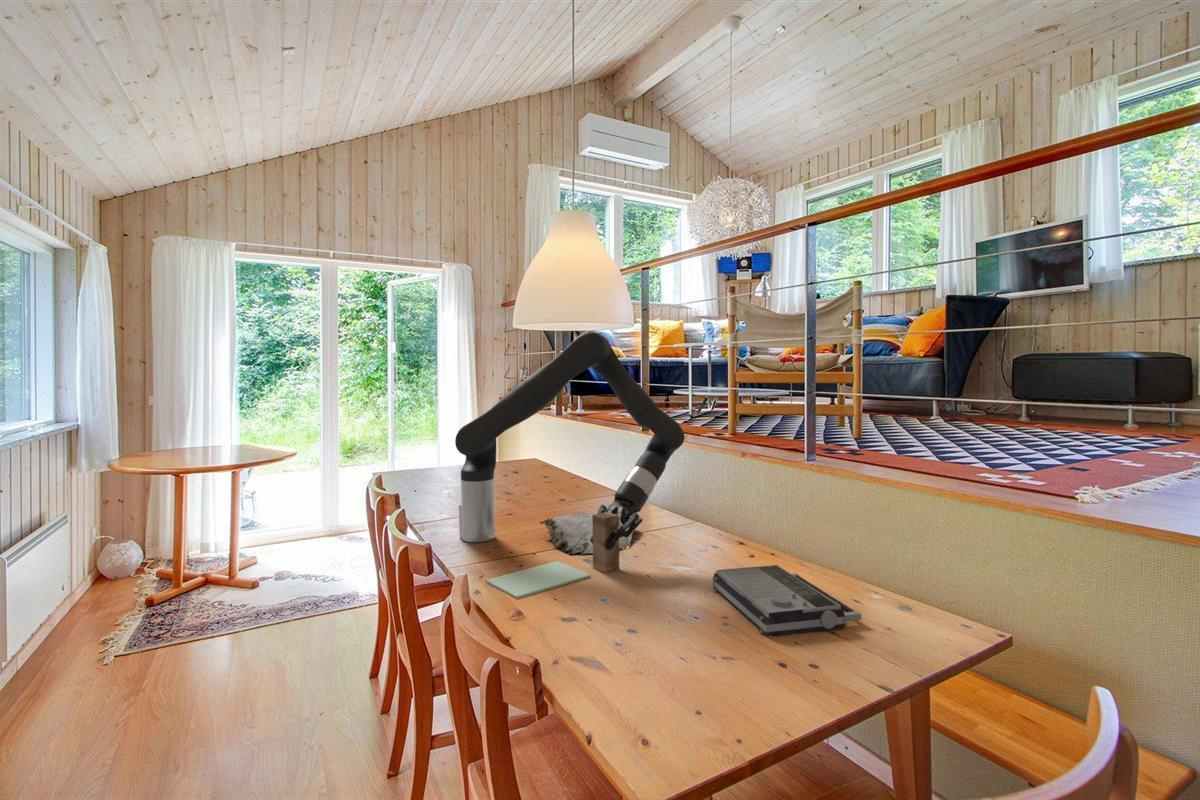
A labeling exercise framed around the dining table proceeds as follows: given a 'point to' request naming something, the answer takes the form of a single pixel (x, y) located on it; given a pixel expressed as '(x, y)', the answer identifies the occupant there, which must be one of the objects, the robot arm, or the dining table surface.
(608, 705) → the dining table surface
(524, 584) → the mat
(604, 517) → the walnut block
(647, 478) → the robot arm
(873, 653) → the dining table surface
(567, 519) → the stone fragment
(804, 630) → the radio
